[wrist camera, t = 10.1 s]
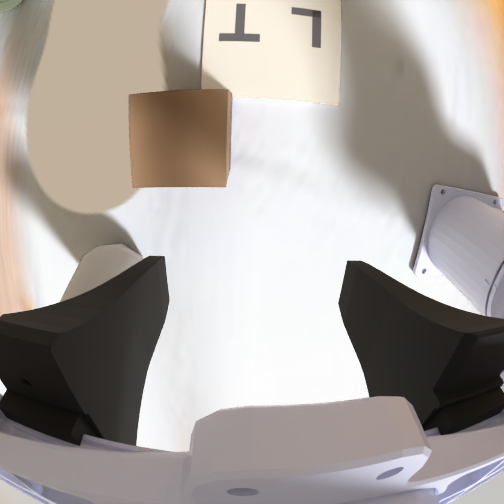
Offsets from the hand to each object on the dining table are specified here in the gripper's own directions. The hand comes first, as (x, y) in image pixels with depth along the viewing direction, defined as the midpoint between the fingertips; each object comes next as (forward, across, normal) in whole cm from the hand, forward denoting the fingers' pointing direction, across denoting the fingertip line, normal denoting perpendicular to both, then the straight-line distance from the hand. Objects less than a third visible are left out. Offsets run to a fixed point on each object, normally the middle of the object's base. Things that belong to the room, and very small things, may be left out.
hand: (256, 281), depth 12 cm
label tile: (+10, -1, -13) cm, 16 cm away
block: (+10, +4, -5) cm, 12 cm away
